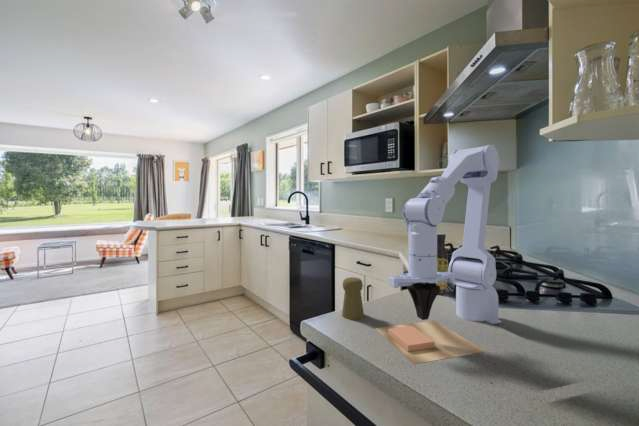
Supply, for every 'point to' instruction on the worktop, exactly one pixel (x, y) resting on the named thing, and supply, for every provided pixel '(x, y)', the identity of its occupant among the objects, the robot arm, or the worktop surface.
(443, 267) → the sauce bottle
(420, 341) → the tile
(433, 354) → the tan cloth
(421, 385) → the worktop surface
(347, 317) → the pepper shaker
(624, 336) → the worktop surface
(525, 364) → the worktop surface
